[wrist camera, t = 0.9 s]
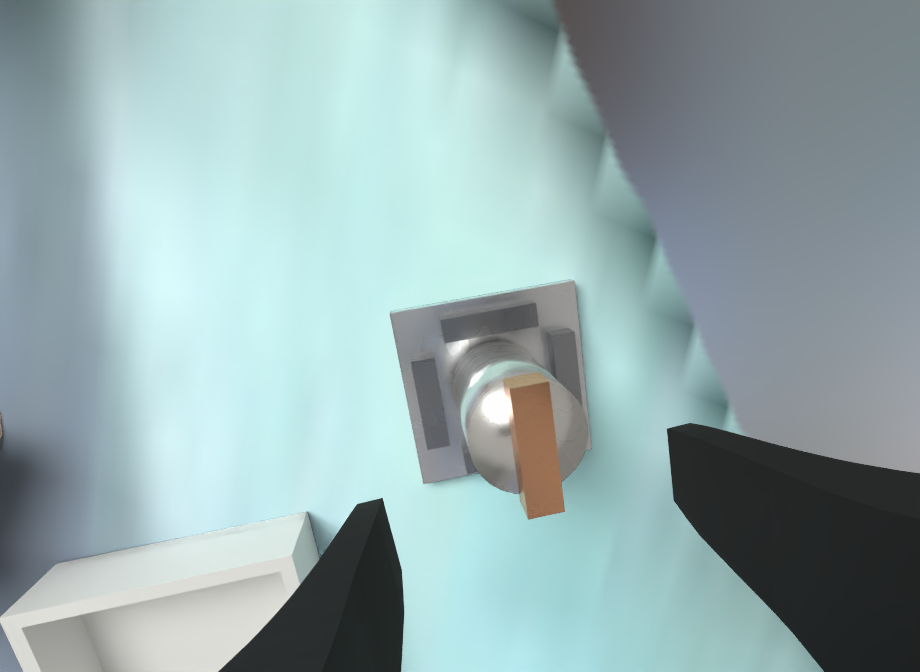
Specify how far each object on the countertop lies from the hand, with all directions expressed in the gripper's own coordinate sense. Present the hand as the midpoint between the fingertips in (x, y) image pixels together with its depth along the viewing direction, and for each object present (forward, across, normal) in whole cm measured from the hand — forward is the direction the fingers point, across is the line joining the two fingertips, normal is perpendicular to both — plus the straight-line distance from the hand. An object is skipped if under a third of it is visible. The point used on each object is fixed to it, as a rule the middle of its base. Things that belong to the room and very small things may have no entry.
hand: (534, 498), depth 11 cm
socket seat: (+10, -1, 0) cm, 10 cm away
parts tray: (+10, +14, +10) cm, 20 cm away
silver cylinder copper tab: (+9, -1, 0) cm, 9 cm away
